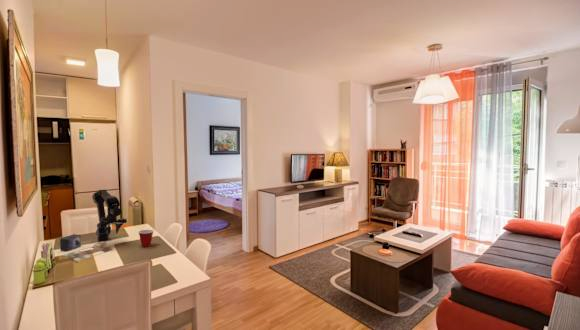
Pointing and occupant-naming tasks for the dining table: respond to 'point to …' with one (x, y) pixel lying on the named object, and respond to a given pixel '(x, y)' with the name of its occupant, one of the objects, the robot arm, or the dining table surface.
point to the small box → (70, 242)
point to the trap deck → (84, 254)
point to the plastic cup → (146, 237)
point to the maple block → (100, 246)
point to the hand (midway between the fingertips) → (112, 234)
